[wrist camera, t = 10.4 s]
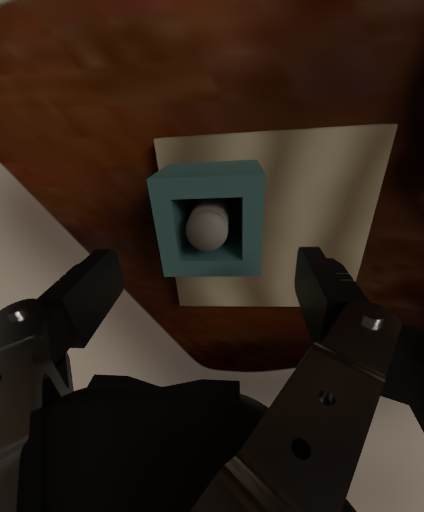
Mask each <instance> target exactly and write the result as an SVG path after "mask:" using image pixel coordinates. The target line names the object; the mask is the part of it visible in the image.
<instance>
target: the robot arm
mask: <svg viewBox="0 0 424 512" xmlns="http://www.w3.org/2000/svg"><path fill="white" fill-rule="evenodd" d="M294 285H295V293H296V296H297V299H298V302H299V305H300V308H301V311H302V314H303V317H304V320H305V323H306V326H307V329H308V332H309V335H310V338H311V341H312V344H313V345H312V346H311V347H310V349H309V350H308V352H307V353H306V354H305V356H304V357H303V359H302V360H301V362H300V363H299V365H298V366H297V368H296V369H295V371H294V372H293V374H292V375H291V376H290V378H289V379H288V381H287V382H286V384H285V385H284V387H283V388H282V390H281V391H280V393H279V394H278V396H277V397H276V399H275V400H274V401H273V403H272V404H271V406H270V407H269V408H268V407H266V406H265V405H263V404H262V403H260V402H258V401H256V400H254V399H252V398H250V397H248V396H245V395H242V394H240V386H239V385H240V384H239V381H226V380H204V379H202V380H196V381H192V382H186V383H181V384H176V385H171V386H166V387H160V386H156V385H153V384H150V383H147V382H144V381H141V380H138V379H135V378H132V377H129V376H114V375H94V376H93V378H92V380H91V382H90V383H89V385H88V387H87V388H83V389H80V390H77V391H74V390H73V383H72V374H71V367H70V359H69V356H68V354H67V351H68V349H69V348H84V347H85V346H86V345H87V343H88V342H89V340H90V339H91V337H92V336H93V334H94V333H95V331H96V330H97V328H98V327H99V325H100V324H101V322H102V321H103V319H104V318H105V316H106V315H107V313H108V312H109V311H110V309H111V308H112V306H113V305H114V303H115V302H116V300H117V299H118V297H119V296H120V294H121V293H122V291H123V288H124V278H123V274H122V271H121V267H120V264H119V260H118V257H117V254H116V252H115V251H114V250H113V249H102V250H95V251H93V252H92V253H91V254H90V255H89V256H88V257H87V258H86V259H85V260H83V261H82V262H81V263H79V264H77V265H75V266H73V267H72V268H71V269H70V270H69V271H68V272H67V273H66V275H63V276H62V277H61V278H60V279H59V281H57V282H56V283H54V285H52V286H51V287H50V288H49V289H48V290H47V291H45V292H44V293H43V294H42V295H41V296H40V297H39V298H38V299H25V300H21V301H18V302H15V303H13V304H11V305H9V306H7V307H5V308H3V309H2V310H0V512H356V510H355V509H354V508H353V507H352V505H351V504H350V503H349V502H348V500H347V499H346V496H347V493H348V490H349V487H350V484H351V481H352V478H353V475H354V472H355V469H356V466H357V463H358V460H359V457H360V454H361V451H362V448H363V445H364V442H365V439H366V436H367V433H368V430H369V427H370V425H371V422H372V418H373V415H374V412H375V409H376V406H377V404H378V401H379V398H380V396H383V397H386V398H389V399H392V400H395V401H398V402H401V403H404V404H407V405H409V406H410V408H411V410H412V411H413V413H414V415H415V417H416V419H417V421H418V422H419V424H420V426H421V428H422V430H423V432H424V330H423V329H419V328H414V327H410V326H406V325H402V324H401V322H400V320H399V318H398V317H397V316H396V315H395V314H394V313H393V312H391V311H390V310H388V309H387V308H385V307H383V306H380V305H378V304H375V303H371V302H369V300H368V299H367V297H366V296H365V295H364V293H363V292H362V290H361V289H360V288H359V286H358V285H357V283H356V282H355V281H353V278H352V277H351V275H350V274H349V272H348V271H347V270H346V268H345V267H344V265H343V264H341V263H340V262H338V261H336V260H335V259H333V258H326V257H325V255H324V254H323V252H322V250H321V249H320V247H318V246H316V247H299V249H298V253H297V262H296V270H295V280H294Z"/></svg>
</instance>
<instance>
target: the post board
mask: <svg viewBox="0 0 424 512" xmlns="http://www.w3.org/2000/svg"><path fill="white" fill-rule="evenodd" d="M397 126H398V124H373V125H357V126H341V127H325V128H309V129H293V130H277V131H261V132H245V133H229V134H213V135H197V136H181V137H166V138H157V139H154V145H155V151H156V157H157V164H158V170H161V169H162V168H164V167H165V166H166V165H168V164H174V163H195V162H215V161H236V160H258V162H259V164H260V165H261V167H262V169H263V171H264V173H265V194H264V215H263V237H262V259H261V276H237V277H175V278H176V284H177V291H178V297H179V303H180V306H288V307H300V305H299V302H298V299H297V296H296V293H295V285H294V280H295V270H296V262H297V253H298V249H299V247H316V246H318V247H320V249H321V250H322V252H323V254H324V255H325V257H326V258H333V259H335V260H336V261H338V262H340V263H341V264H343V265H344V267H345V268H346V270H347V271H348V272H349V274H350V275H351V277H352V278H353V281H355V282H356V279H357V275H358V272H359V268H360V264H361V260H362V257H363V253H364V249H365V245H366V242H367V238H368V234H369V230H370V227H371V223H372V219H373V216H374V212H375V208H376V204H377V201H378V197H379V193H380V189H381V186H382V182H383V178H384V175H385V171H386V167H387V163H388V160H389V156H390V152H391V148H392V145H393V141H394V137H395V133H396V130H397ZM188 200H189V209H190V217H189V219H188V221H187V224H186V236H187V238H188V240H189V242H190V243H191V244H192V245H193V246H194V247H195V248H197V249H199V250H202V251H212V250H215V249H217V248H219V247H220V246H221V245H222V244H223V243H224V242H225V240H226V238H227V235H228V228H241V197H232V198H203V199H188Z"/></svg>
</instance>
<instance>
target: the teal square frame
mask: <svg viewBox="0 0 424 512" xmlns="http://www.w3.org/2000/svg"><path fill="white" fill-rule="evenodd" d="M147 184H148V190H149V196H150V201H151V207H152V212H153V218H154V223H155V229H156V234H157V240H158V246H159V251H160V257H161V262H162V268H163V273H164V277H237V276H261V259H262V237H263V215H264V194H265V173H264V171H263V169H262V167H261V165H260V164H259V162H258V160H236V161H215V162H195V163H174V164H168V165H166V166H165V167H164V168H162V169H161V170H159V171H158V172H156V173H155V174H153V175H152V176H151V177H149V178H148V179H147ZM232 197H241V228H228V235H227V238H226V240H225V242H224V243H223V244H222V245H221V246H220V247H219V248H217V249H215V250H212V251H202V250H199V249H197V248H195V247H194V246H193V245H192V244H191V243H190V242H189V240H188V238H187V236H186V224H187V221H188V219H189V217H190V209H189V200H188V199H203V198H232Z"/></svg>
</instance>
